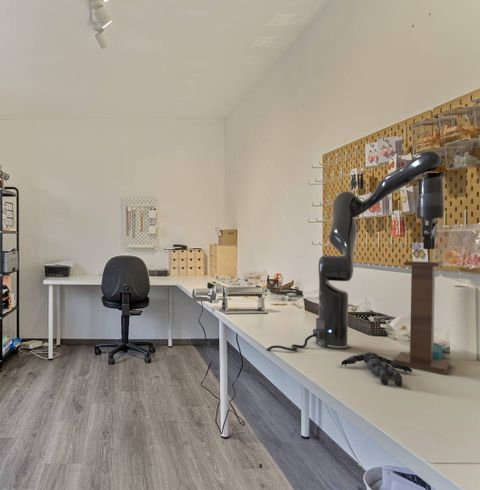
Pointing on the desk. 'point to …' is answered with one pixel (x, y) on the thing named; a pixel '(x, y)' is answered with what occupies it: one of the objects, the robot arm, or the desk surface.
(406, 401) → the desk surface
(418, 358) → the stand
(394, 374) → the dark grey jointed piece
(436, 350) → the back pad
